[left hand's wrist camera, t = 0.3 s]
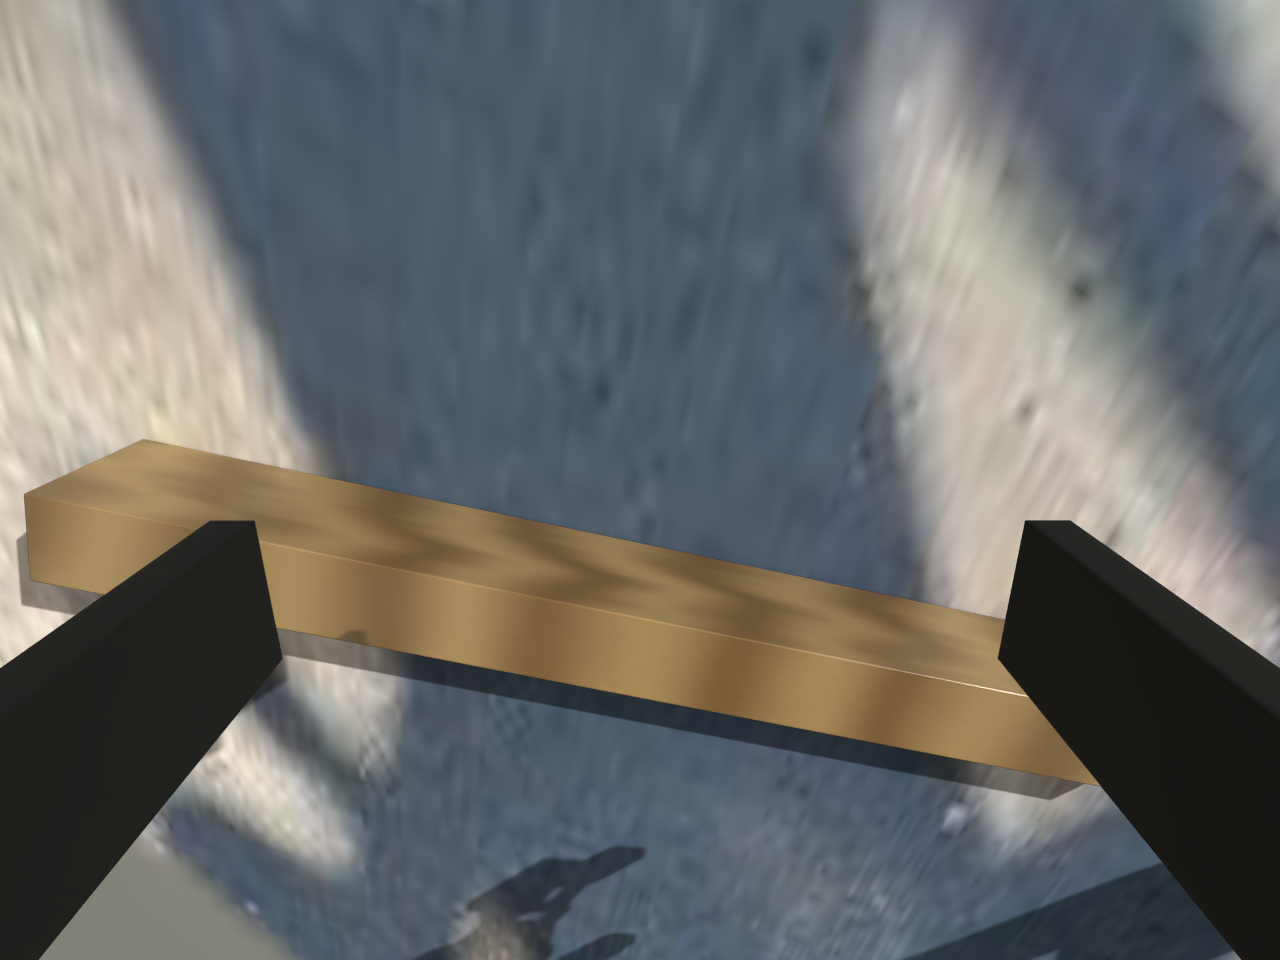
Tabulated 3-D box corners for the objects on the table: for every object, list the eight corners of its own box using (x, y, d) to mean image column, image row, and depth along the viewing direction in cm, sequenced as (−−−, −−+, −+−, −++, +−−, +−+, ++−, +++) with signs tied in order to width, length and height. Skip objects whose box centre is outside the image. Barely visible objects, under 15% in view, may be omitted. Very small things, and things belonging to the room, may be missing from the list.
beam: (144, 511, 41) (29, 581, 34) (142, 438, 40) (22, 493, 32) (1209, 726, 47) (1322, 830, 39) (1244, 669, 45) (1370, 765, 37)
